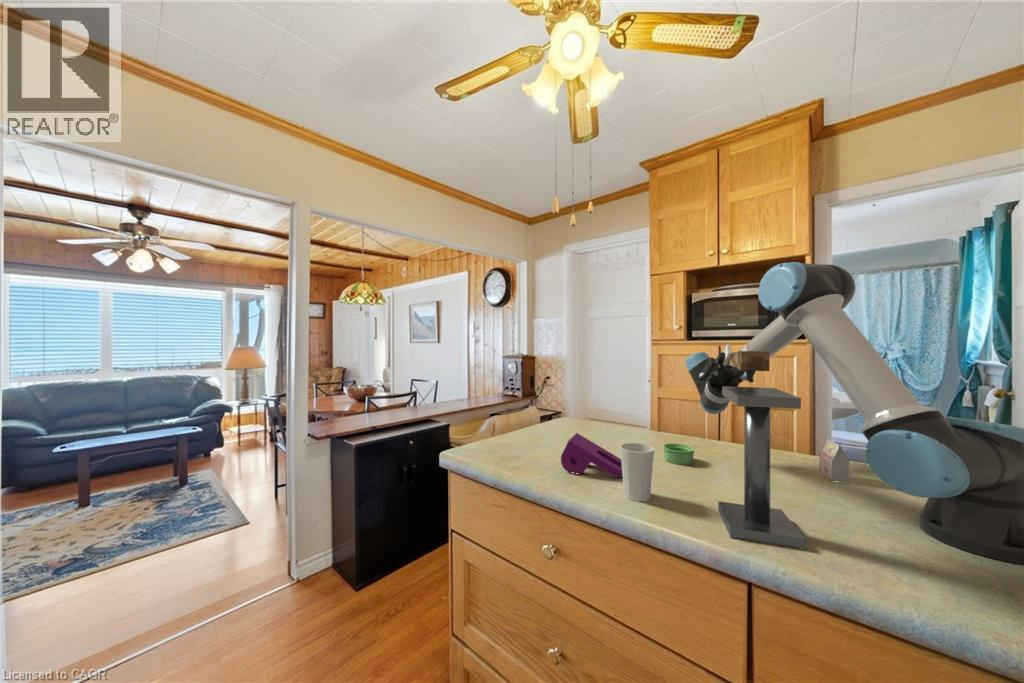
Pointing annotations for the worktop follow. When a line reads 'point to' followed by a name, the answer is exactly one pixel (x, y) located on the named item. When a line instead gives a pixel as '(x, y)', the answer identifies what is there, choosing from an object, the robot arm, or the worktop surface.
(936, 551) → the worktop surface
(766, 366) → the walnut bar
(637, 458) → the cup
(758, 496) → the charcoal stand
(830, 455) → the milk carton
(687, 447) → the ramekin
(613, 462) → the mounting bracket
